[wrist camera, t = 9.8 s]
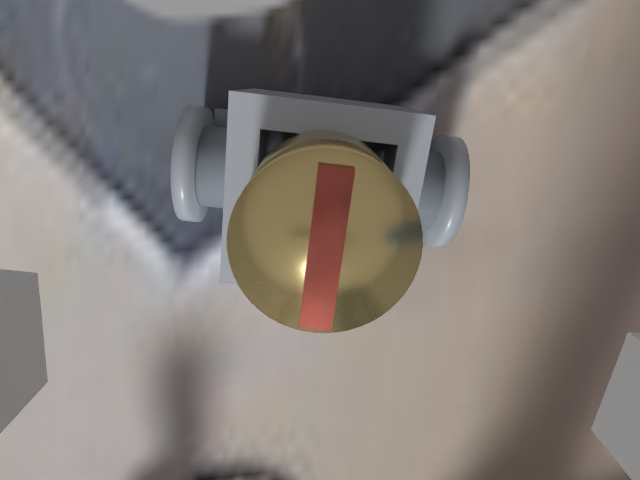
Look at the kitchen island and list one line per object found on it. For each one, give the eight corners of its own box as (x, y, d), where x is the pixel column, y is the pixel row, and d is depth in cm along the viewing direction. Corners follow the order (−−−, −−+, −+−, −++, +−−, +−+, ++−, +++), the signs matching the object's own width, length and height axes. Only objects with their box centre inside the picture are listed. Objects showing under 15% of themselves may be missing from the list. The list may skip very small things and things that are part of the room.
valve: (260, 117, 23) (228, 138, 14) (396, 134, 23) (446, 164, 14) (251, 246, 25) (218, 332, 16) (374, 259, 25) (406, 350, 17)
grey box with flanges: (447, 111, 29) (506, 124, 20) (420, 244, 32) (461, 306, 24) (203, 81, 29) (153, 81, 20) (199, 221, 32) (154, 276, 23)
